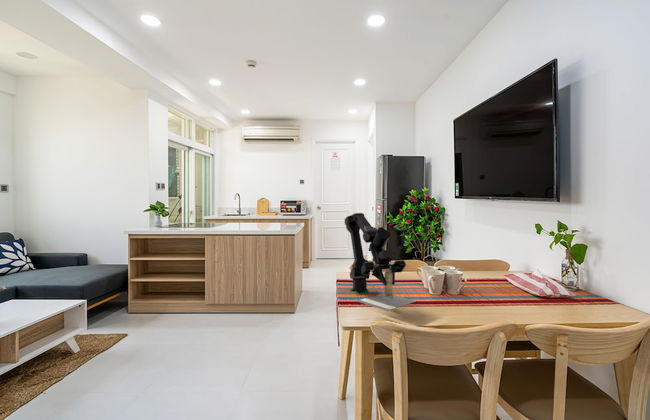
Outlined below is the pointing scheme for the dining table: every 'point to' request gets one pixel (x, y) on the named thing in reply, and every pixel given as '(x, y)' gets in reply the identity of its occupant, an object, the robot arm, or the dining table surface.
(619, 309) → the dining table surface
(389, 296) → the tan cylinder
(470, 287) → the dining table surface
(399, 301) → the subfloor board
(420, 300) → the dining table surface
